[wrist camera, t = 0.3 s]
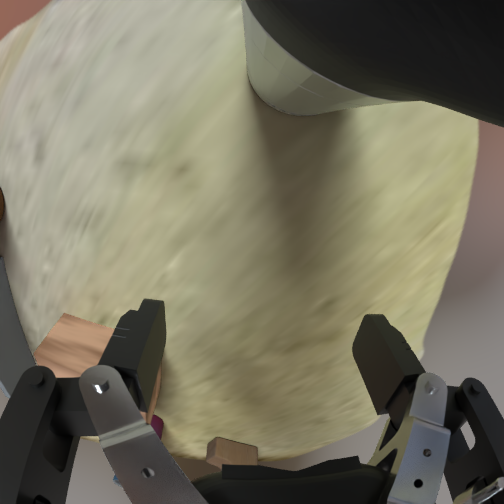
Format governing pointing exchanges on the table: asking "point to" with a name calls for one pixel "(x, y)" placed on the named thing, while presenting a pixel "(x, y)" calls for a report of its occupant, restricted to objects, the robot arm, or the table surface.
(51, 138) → the table surface
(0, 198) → the mug
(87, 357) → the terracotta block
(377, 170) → the table surface
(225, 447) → the wooden block
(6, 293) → the rail
